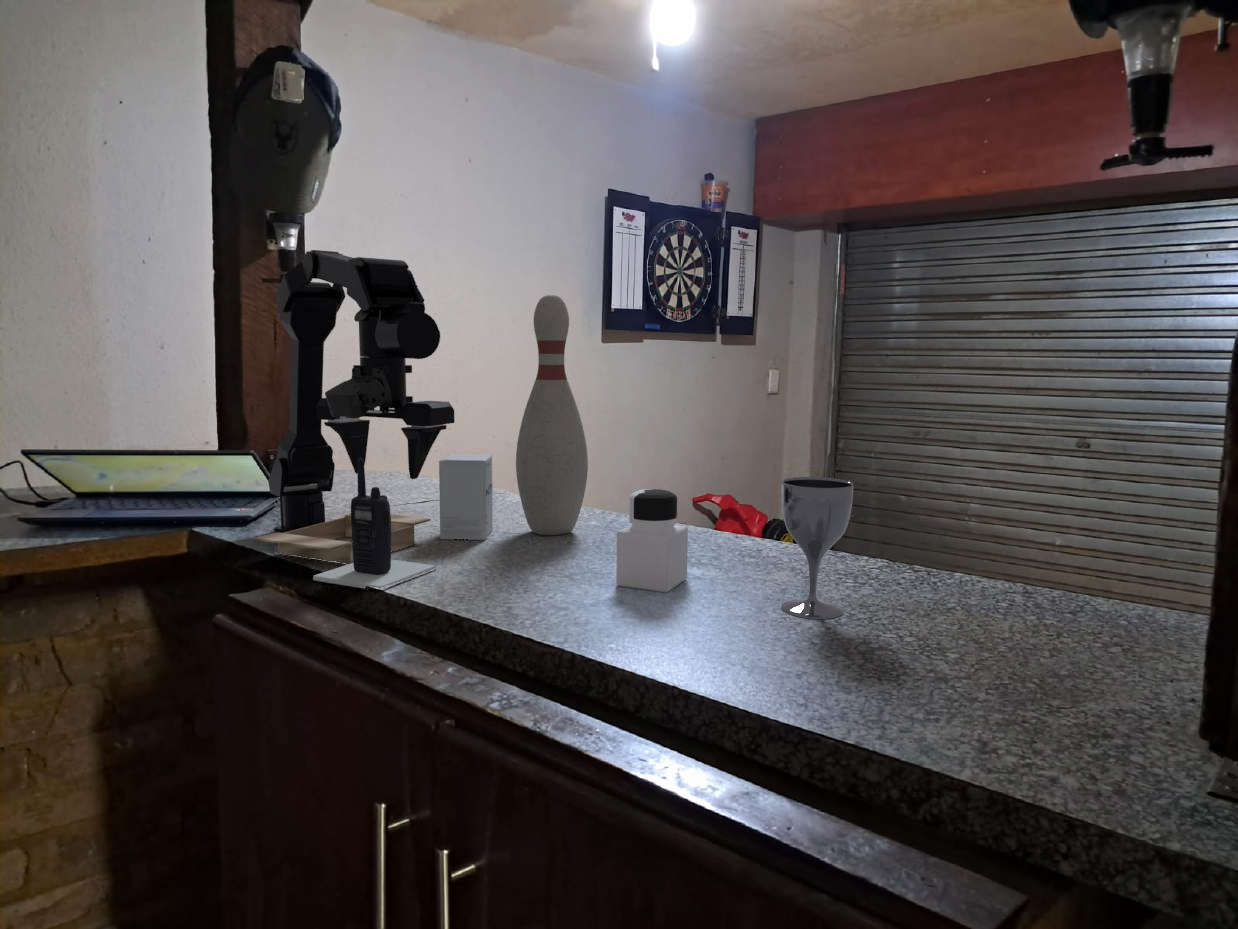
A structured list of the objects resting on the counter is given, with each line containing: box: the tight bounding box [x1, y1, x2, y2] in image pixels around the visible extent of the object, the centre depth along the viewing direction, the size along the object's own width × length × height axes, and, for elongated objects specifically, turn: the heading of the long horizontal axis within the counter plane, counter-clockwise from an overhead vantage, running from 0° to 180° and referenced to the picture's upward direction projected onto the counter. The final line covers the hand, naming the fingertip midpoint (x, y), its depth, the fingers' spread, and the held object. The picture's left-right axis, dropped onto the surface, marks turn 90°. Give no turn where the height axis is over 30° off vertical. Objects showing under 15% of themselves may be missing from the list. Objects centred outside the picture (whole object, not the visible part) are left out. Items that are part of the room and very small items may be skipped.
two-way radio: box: [350, 458, 392, 575], centre depth 110 cm, size 6×4×15 cm
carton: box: [254, 513, 432, 564], centre depth 124 cm, size 14×22×3 cm, turn 155°
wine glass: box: [780, 476, 854, 620], centre depth 97 cm, size 8×8×15 cm
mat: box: [312, 558, 437, 590], centre depth 111 cm, size 11×11×1 cm
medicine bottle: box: [615, 488, 689, 593], centre depth 107 cm, size 7×7×12 cm
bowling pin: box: [515, 294, 589, 536], centre depth 134 cm, size 11×12×38 cm
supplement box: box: [438, 454, 494, 541], centre depth 133 cm, size 7×7×13 cm
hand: (386, 475), depth 111 cm, fingers open, 9 cm apart
